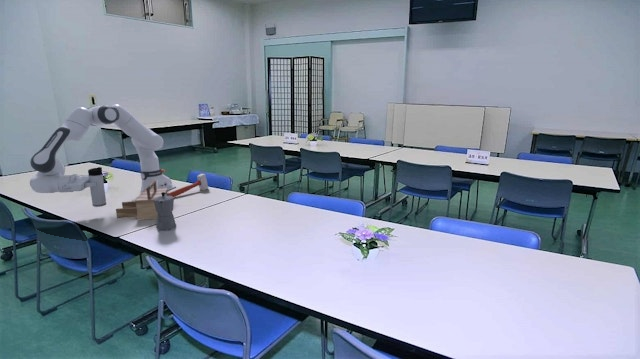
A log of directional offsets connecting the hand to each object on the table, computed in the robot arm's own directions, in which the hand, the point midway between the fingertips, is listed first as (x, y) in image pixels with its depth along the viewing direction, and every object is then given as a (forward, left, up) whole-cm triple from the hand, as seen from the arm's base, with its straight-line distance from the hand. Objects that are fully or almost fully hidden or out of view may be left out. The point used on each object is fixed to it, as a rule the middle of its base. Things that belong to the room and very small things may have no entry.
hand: (98, 182), depth 187 cm
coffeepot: (-7, +42, -19) cm, 47 cm away
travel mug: (+1, -1, -13) cm, 13 cm away
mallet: (-53, +3, -19) cm, 57 cm away
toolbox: (-14, +14, -18) cm, 27 cm away
